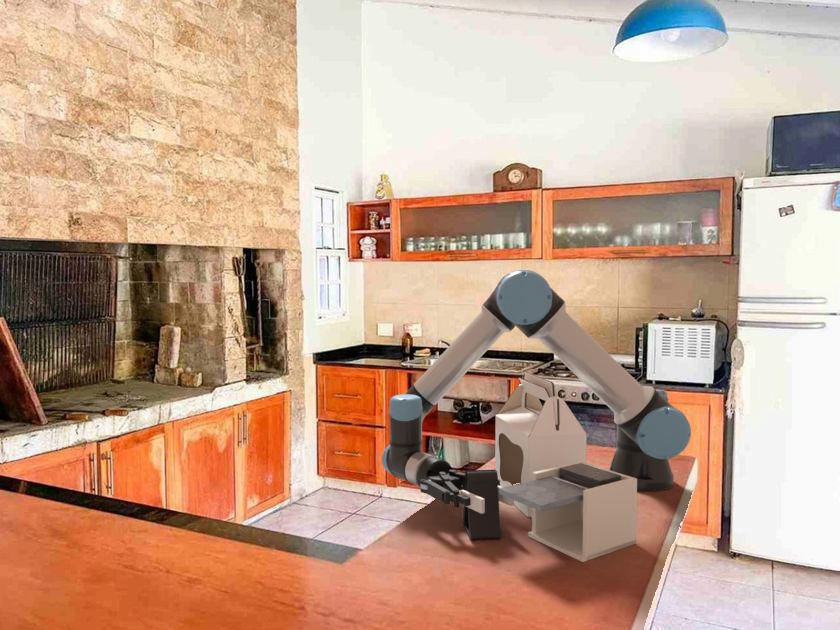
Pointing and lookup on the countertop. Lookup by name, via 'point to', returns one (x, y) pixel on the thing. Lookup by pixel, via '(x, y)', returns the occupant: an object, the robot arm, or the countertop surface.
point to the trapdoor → (559, 487)
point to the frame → (589, 518)
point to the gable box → (535, 434)
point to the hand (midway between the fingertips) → (497, 502)
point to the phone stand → (487, 488)
